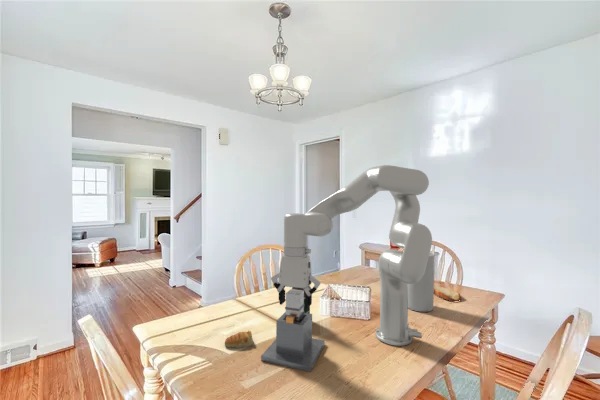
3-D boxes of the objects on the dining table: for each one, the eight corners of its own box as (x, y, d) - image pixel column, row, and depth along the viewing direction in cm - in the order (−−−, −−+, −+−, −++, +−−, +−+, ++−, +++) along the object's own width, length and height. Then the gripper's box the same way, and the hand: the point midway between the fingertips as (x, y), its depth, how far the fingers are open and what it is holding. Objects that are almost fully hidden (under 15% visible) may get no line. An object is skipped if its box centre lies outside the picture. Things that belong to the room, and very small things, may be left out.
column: (304, 344, 94) (304, 290, 93) (299, 352, 89) (299, 295, 89) (290, 341, 95) (290, 288, 95) (284, 349, 91) (285, 293, 91)
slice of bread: (427, 287, 161) (428, 280, 161) (464, 294, 150) (464, 287, 150) (420, 296, 146) (420, 289, 146) (459, 304, 136) (459, 296, 136)
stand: (324, 344, 97) (325, 306, 97) (310, 371, 82) (310, 327, 82) (281, 336, 102) (282, 300, 102) (261, 360, 87) (261, 318, 87)
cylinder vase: (427, 302, 137) (428, 251, 136) (437, 313, 124) (438, 256, 124) (401, 301, 138) (401, 250, 138) (408, 311, 126) (409, 255, 125)
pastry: (225, 351, 93) (225, 340, 93) (223, 341, 99) (223, 331, 99) (254, 346, 96) (254, 335, 96) (250, 337, 102) (250, 326, 102)
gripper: (324, 251, 92) (323, 304, 93) (275, 247, 98) (275, 297, 99) (317, 256, 85) (317, 313, 86) (266, 251, 91) (265, 305, 91)
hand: (294, 304), depth 92 cm, fingers open, 8 cm apart
